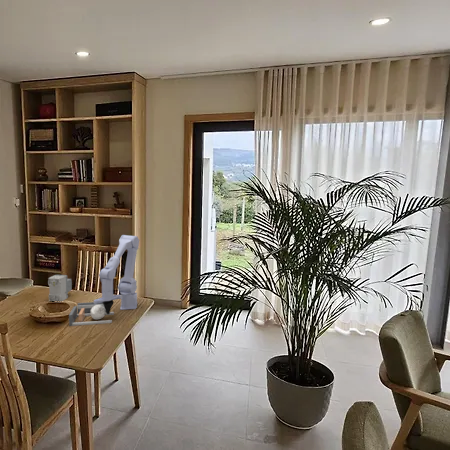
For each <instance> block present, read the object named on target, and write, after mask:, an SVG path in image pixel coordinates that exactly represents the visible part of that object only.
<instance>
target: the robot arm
mask: <svg viewBox="0 0 450 450" xmlns="http://www.w3.org/2000/svg"><path fill="white" fill-rule="evenodd" d="M139 245H140V239H139V237H138V236H137V235H127V234H122V235H121V236H120V238H119V240H118V245H117V248H116V250H115V253H114V255H113V256H111V257H110V258H109V260H108V262H107V263H106V265H105V267H103V268H102V269H100V272H99V275H98V276H99V277H98V278H100V282H101V297H99V298H97V299H94V300H93V302H94V304H97V303H103V305H104V307H105V309H106V313H107V314H110V312H111V310H112V306H113V305H114V301H115V300H118V299H119V300H120V309H119V310H120V311H121V310H122V311H123V310H124V311H125V310H136V308H137V309H138V307H137V306H138V292H137V288H138V285H137V280H136V279H135V278H134V273H135V265H136V261H137V260H136V259H137V254H138V249H139V247H140V246H139ZM126 250H127V256H126V261H125V267H124V268H125V269H124V275H123V277H122V278H120V279H119V283H118V285H117V291H119V293H120V294H114V278H116V274H117V273H116V272H117V268H118V267H119V265H120V263H121V260H120V259H121V258H122V256H123V254H124V253H125V252H126Z"/></svg>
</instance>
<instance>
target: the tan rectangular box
mask: <svg viewBox="0 0 450 450" xmlns="http://www.w3.org/2000/svg"><path fill="white" fill-rule="evenodd" d="M85 314H86V313H85V308H82V309H81V311H80V313H79V317H78V322H84V319H85V318H86V316H85Z"/></svg>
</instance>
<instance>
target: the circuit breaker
mask: <svg viewBox="0 0 450 450" xmlns="http://www.w3.org/2000/svg"><path fill="white" fill-rule="evenodd" d="M47 279H48V280H47V284H48V285H47V286H49V287H48V288H49V289H48V290H49V294H48V302H49V301H62V302H63V301H65V300H67V299H68V298H69V294H68V293H69V292H71V291H72V290H73V289H72V287H73V286H72V285H73V284H72V283H73V282H72V278H68V275H66V274H55V275H52V276H50V277H48V278H47Z"/></svg>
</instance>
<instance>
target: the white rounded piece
mask: <svg viewBox="0 0 450 450" xmlns="http://www.w3.org/2000/svg"><path fill="white" fill-rule="evenodd" d="M105 313H106V310H105V308H104V307H103V306H101V305H95V306H93V307H92V309H91V312H90V314H91V316H90V317H91V318H92V319H93V320H95V321H97V320H98V321H99V320H101V319H102V318H104V317H105V316H106V315H105Z"/></svg>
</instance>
